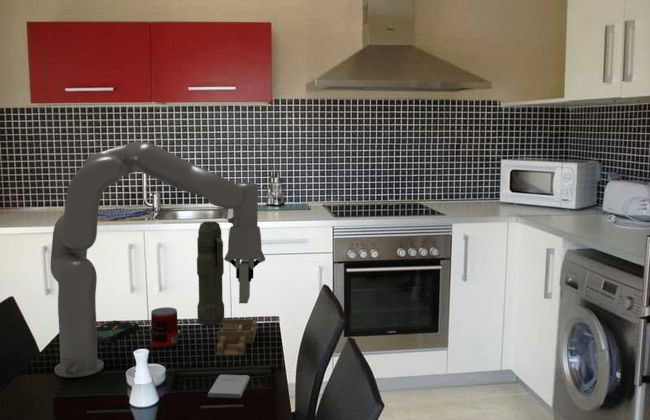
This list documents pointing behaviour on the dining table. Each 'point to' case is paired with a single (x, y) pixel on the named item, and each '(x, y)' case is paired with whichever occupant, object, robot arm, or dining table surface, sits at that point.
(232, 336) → the rack
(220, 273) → the thermos
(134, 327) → the disk drive
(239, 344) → the stand
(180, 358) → the dining table surface
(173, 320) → the canned food
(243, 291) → the grey-green flat slab
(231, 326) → the offcut
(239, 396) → the external hard drive
